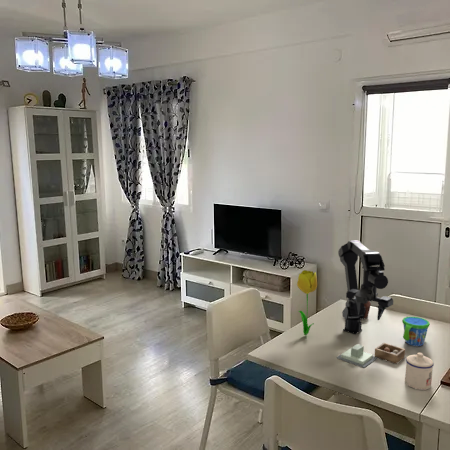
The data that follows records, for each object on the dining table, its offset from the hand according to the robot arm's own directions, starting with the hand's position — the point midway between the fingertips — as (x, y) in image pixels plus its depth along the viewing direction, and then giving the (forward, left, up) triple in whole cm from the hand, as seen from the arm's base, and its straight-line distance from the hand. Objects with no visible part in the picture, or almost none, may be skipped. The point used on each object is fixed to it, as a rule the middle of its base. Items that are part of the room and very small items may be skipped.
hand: (368, 317), depth 194 cm
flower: (-24, -10, -13) cm, 29 cm away
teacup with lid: (+28, -16, -13) cm, 35 cm away
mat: (+3, -14, -12) cm, 19 cm away
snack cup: (+14, +16, -13) cm, 25 cm away
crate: (+12, -4, -12) cm, 18 cm away
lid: (+3, -14, -12) cm, 19 cm away
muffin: (-19, +29, -13) cm, 37 cm away
